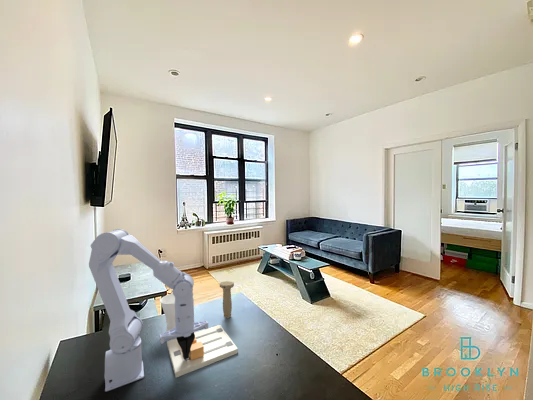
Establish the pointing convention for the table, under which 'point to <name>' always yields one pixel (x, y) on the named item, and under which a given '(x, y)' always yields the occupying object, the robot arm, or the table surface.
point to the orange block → (196, 350)
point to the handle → (227, 298)
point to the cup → (169, 310)
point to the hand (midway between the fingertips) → (185, 357)
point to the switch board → (214, 350)
